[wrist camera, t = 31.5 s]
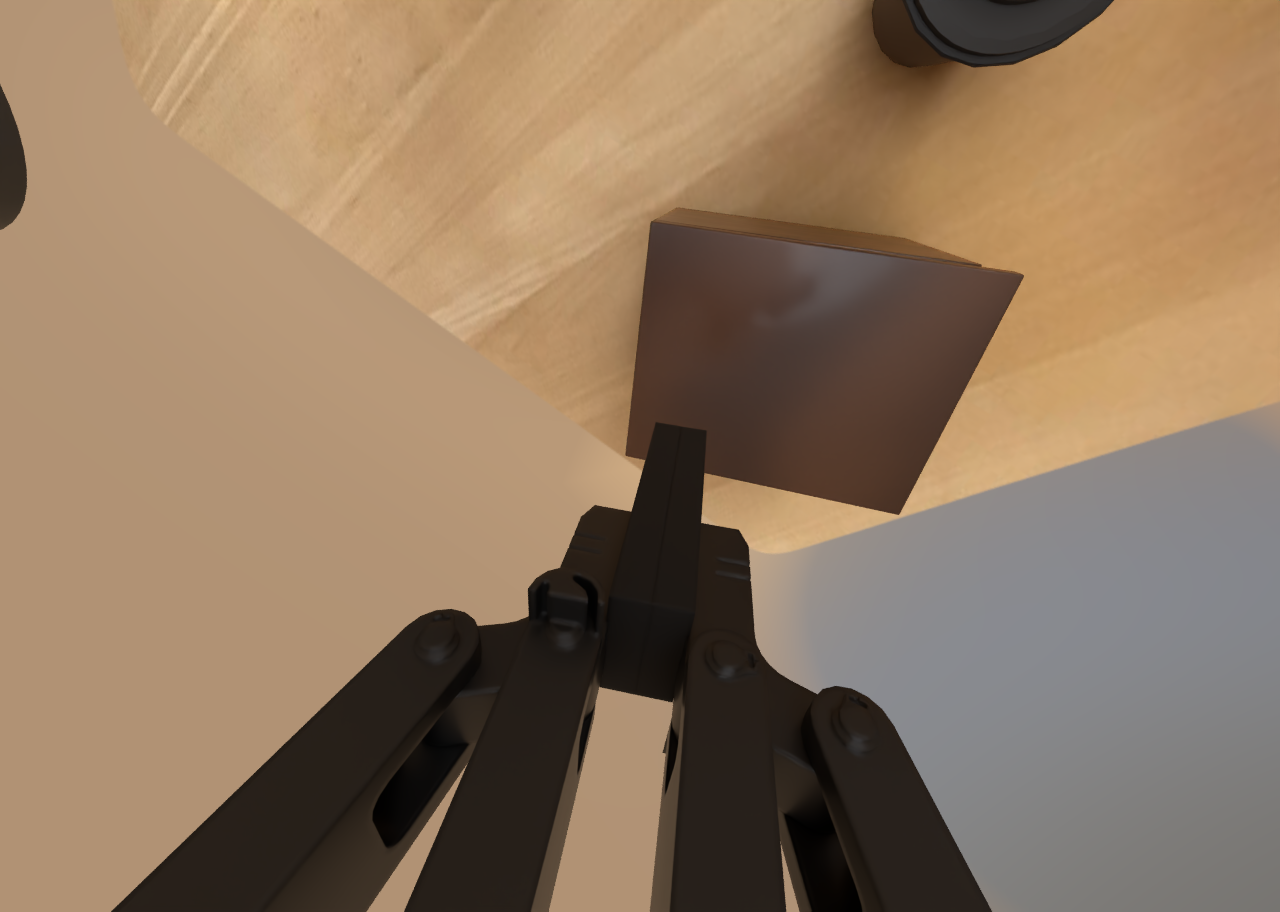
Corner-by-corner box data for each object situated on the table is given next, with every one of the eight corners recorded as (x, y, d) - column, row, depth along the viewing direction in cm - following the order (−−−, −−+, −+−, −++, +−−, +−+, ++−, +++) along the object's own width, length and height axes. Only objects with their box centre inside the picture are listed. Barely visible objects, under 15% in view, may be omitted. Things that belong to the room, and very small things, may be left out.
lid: (1015, 271, 18) (1025, 275, 17) (895, 506, 24) (899, 515, 23) (654, 219, 20) (650, 220, 19) (628, 449, 26) (625, 456, 25)
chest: (905, 238, 27) (983, 264, 19) (838, 414, 33) (875, 493, 25) (676, 207, 28) (653, 219, 20) (652, 383, 34) (628, 448, 26)
